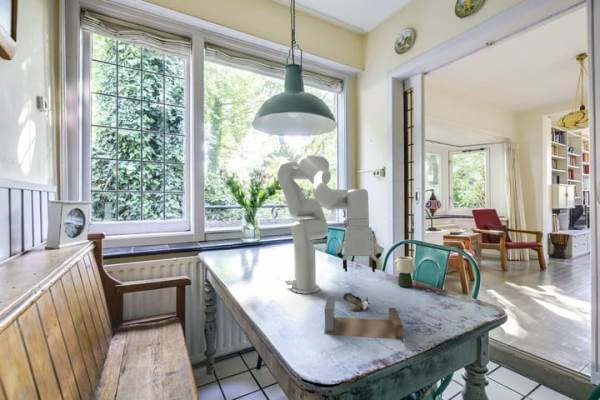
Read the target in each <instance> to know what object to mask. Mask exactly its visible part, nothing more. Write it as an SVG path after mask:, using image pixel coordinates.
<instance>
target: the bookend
mask: <svg viewBox="0 0 600 400" xmlns="http://www.w3.org/2000/svg"><path fill="white" fill-rule="evenodd" d="M335 299H336V297H335V296H327V297H326V301H325V307H324V331H325V332H327V333H333V332H334V322H335V317H336V311H335V310H336V304H335V303H336V301H335Z"/></svg>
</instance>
